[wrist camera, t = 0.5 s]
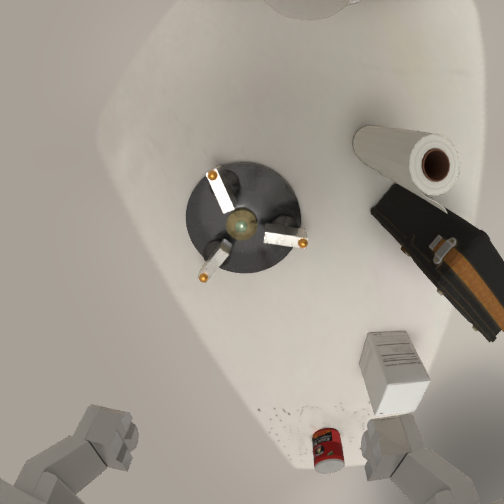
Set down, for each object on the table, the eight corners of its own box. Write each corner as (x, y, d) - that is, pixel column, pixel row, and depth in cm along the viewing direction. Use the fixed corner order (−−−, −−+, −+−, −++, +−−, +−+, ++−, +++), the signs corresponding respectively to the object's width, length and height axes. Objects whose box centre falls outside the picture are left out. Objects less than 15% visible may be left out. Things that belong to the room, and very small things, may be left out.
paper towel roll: (356, 120, 43) (418, 124, 24) (391, 131, 43) (467, 146, 24) (346, 164, 46) (399, 199, 26) (381, 174, 46) (448, 214, 27)
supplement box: (395, 362, 62) (415, 412, 48) (358, 364, 62) (373, 417, 48) (406, 329, 58) (432, 380, 44) (367, 331, 58) (387, 385, 45)
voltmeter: (363, 213, 49) (430, 293, 26) (395, 174, 46) (486, 225, 23) (419, 265, 52) (488, 352, 29) (449, 230, 49) (533, 302, 26)
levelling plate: (192, 156, 47) (186, 159, 43) (309, 171, 47) (312, 176, 43) (185, 260, 54) (179, 272, 50) (289, 275, 54) (290, 288, 50)
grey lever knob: (217, 230, 49) (210, 244, 44) (239, 246, 50) (236, 262, 45) (196, 257, 52) (188, 274, 46) (218, 272, 53) (212, 291, 47)
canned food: (328, 423, 71) (332, 458, 61) (345, 433, 73) (350, 465, 63) (305, 435, 73) (308, 468, 63) (323, 444, 75) (326, 476, 65)
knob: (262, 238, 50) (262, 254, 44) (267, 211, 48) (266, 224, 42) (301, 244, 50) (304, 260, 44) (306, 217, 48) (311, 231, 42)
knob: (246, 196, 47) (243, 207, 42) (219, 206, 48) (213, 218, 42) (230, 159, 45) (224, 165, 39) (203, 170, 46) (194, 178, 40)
